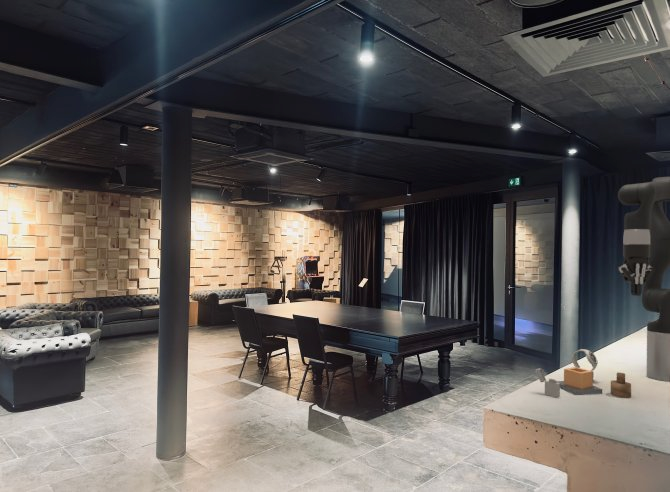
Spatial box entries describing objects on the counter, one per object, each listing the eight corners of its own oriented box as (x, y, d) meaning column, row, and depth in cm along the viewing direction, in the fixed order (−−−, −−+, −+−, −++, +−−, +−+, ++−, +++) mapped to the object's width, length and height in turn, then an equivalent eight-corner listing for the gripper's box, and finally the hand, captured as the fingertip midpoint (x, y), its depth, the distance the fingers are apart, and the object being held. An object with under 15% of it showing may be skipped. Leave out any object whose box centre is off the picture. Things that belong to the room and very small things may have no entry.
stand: (621, 392, 150) (621, 371, 150) (635, 397, 145) (635, 375, 145) (606, 392, 150) (606, 371, 150) (619, 398, 144) (620, 376, 144)
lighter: (559, 396, 145) (560, 371, 145) (558, 397, 143) (558, 372, 143) (536, 391, 149) (536, 367, 149) (534, 392, 148) (535, 368, 148)
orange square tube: (575, 381, 157) (575, 367, 157) (592, 386, 151) (593, 371, 151) (563, 383, 154) (564, 368, 154) (581, 388, 148) (581, 373, 148)
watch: (594, 384, 159) (594, 352, 159) (569, 379, 165) (570, 349, 165) (599, 381, 163) (599, 350, 163) (575, 376, 169) (575, 347, 169)
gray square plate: (581, 384, 158) (581, 370, 158) (602, 393, 148) (602, 378, 148) (554, 385, 157) (555, 371, 157) (574, 394, 147) (574, 379, 147)
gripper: (644, 243, 157) (644, 294, 157) (610, 243, 155) (609, 294, 154) (663, 243, 149) (663, 296, 149) (628, 242, 147) (627, 296, 147)
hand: (636, 295), depth 152 cm, fingers closed
